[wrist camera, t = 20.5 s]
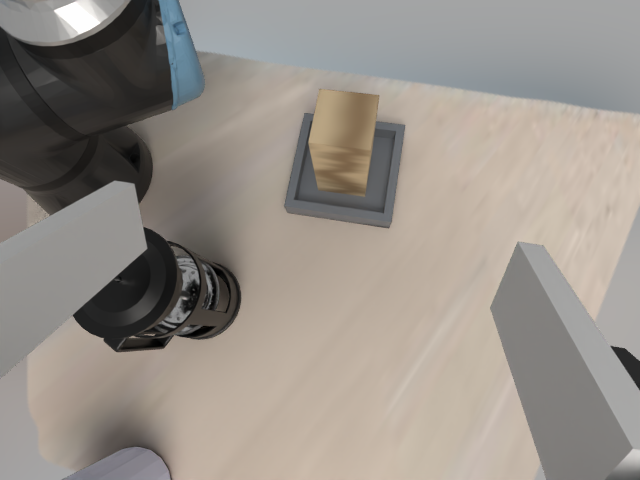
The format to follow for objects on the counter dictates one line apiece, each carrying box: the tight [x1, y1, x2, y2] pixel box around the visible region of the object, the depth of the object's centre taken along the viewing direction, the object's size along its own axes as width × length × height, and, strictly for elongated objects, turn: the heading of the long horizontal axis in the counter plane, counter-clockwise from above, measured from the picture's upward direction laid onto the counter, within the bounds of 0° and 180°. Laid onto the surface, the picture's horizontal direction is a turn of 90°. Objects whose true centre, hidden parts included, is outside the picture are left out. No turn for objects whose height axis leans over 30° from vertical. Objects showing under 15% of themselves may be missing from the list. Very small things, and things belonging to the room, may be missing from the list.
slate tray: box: [284, 113, 405, 228], centre depth 46 cm, size 13×13×2 cm
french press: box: [73, 227, 241, 352], centre depth 34 cm, size 12×9×23 cm
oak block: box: [308, 89, 379, 197], centre depth 41 cm, size 6×6×12 cm
